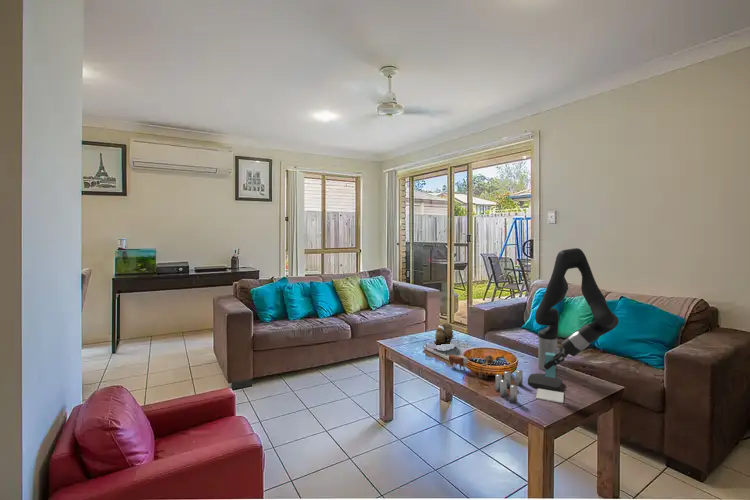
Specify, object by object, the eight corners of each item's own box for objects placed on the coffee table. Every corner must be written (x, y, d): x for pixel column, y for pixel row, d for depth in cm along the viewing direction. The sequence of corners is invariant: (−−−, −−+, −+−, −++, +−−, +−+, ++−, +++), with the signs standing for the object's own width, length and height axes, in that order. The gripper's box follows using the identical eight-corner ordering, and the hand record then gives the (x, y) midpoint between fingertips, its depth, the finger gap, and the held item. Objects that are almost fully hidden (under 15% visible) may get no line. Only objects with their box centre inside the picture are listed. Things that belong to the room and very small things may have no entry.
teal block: (545, 373, 172) (545, 352, 171) (555, 374, 170) (555, 353, 170) (545, 376, 168) (545, 354, 168) (555, 377, 166) (555, 355, 166)
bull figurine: (466, 373, 198) (466, 358, 197) (447, 366, 208) (447, 352, 208) (471, 371, 200) (471, 357, 200) (452, 365, 211) (452, 350, 211)
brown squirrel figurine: (444, 342, 254) (444, 318, 253) (459, 346, 246) (459, 321, 245) (428, 348, 241) (428, 322, 240) (444, 353, 233) (444, 326, 232)
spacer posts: (499, 380, 188) (499, 366, 188) (522, 384, 183) (522, 370, 183) (490, 398, 168) (490, 383, 168) (516, 403, 163) (516, 388, 162)
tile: (537, 389, 177) (537, 388, 177) (563, 393, 172) (563, 392, 172) (535, 398, 167) (535, 397, 167) (563, 403, 162) (563, 402, 162)
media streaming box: (559, 393, 173) (559, 387, 173) (526, 386, 181) (526, 380, 181) (562, 382, 186) (563, 376, 185) (531, 376, 193) (531, 371, 193)
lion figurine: (484, 369, 204) (484, 353, 203) (494, 371, 201) (494, 354, 201) (477, 378, 191) (477, 361, 191) (487, 380, 188) (487, 363, 188)
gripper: (569, 332, 171) (540, 355, 177) (568, 340, 159) (537, 364, 165) (582, 345, 169) (552, 367, 175) (583, 354, 156) (551, 378, 162)
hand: (545, 366), depth 170 cm, fingers closed on teal block, 4 cm apart
